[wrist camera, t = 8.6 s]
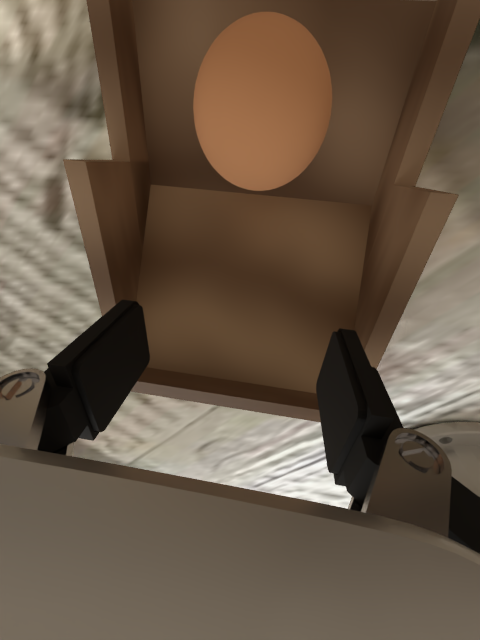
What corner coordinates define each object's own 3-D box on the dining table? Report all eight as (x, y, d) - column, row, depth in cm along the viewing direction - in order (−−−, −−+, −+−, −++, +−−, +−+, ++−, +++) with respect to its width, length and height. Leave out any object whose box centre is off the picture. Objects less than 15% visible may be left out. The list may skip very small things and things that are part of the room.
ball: (336, 157, 7) (307, 212, 12) (369, -48, 6) (324, 98, 11) (165, 143, 7) (204, 202, 12) (181, -51, 7) (215, 91, 12)
